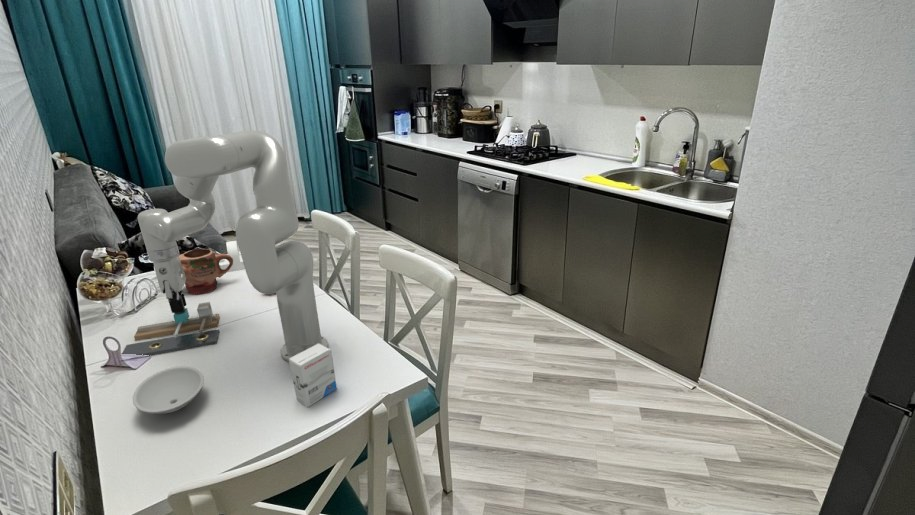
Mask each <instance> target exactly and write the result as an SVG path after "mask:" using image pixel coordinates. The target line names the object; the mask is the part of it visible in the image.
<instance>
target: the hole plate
mask: <svg viewBox="0 0 915 515" xmlns="http://www.w3.org/2000/svg"><path fill="white" fill-rule="evenodd" d="M202 333H203V335H202V336H201V335H200V332H195V333H188V334H182V335H177V338H178V340H175V337H174V336H171V337H163V338H159V339H154V340H147V341H142V342H135V343H131V344H126V346H125V347H124V348H123V351H122V352H121V354H136V355H142V354H143V355H149V356H148V357H152V356H157V354H158V355H163V354H169V353H174V352H179V351H180V352H181V351H185V350H191V349H196V348H202V347H207V346H213V345H217V344H218V340H219V336H220V333H221V332H220V329H219V328H218V329H211V330H207V331H202ZM162 353H163V354H162ZM150 355H151V356H150Z"/></svg>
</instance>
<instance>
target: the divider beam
mask: <svg viewBox="0 0 915 515" xmlns="http://www.w3.org/2000/svg"><path fill="white" fill-rule="evenodd" d="M196 311H197V314H198V315H197V317H191V318H188V321H187V322H185V323H182V324H181V327H180V329H179V332H178V334H184V333H190V332H196V331H199V332H200V335H201V336H202V335H203V333H202V332H203V330H207V329H216V328H218V327H219V324H220V319H221V316H220V313H215V314H214V313H213V308H212V305H211V302H210V301H207V302H200V303H198V305H197V309H196ZM177 326H178V324H175V320H172V321H166V322H165V321H164V322H160V323H153V324H148V325H146V324H145V325H141V326H138V327H137V328H136V329H137V330H136V332H135V334H134V336H133V338H134V341H135V342H138V341H143V340H149V339H150V340H151V339H154V338H160V337H167V336H174V333H175V331H176V329H177ZM199 332H198V333H199ZM178 334H177V335H178Z"/></svg>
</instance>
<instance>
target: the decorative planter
mask: <svg viewBox="0 0 915 515" xmlns="http://www.w3.org/2000/svg"><path fill="white" fill-rule="evenodd" d="M179 258H180V261H181V264H182V267H183V270H184V273H185V276H186V281H185V284H184V286H185V290H186V292H187V293H188V294H191V295H203V294H208V293H211V292H213V291H215V290H216V288H217V287H218V281H217V278H222V277H223V276H224V275H226V274H228V273H229V272H228V271H229V269H230V268H231V266H232V265H233V259H232V257H231V256H230V255H228V253H218V254H216V253H215V252H214V251H213V250H212V249H209V248H194V249H192V250H188V251H185V252H184V253H180V255H179ZM222 259H227V260H228V261H229V263H230V264H229V266H228V267H227V268H226V269H224V270H223V269H221V268H220V265H219V262H220V260H222Z"/></svg>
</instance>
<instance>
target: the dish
mask: <svg viewBox="0 0 915 515" xmlns="http://www.w3.org/2000/svg"><path fill="white" fill-rule="evenodd" d="M204 383H205V376H204V374H203V372H202V371H200V370H199V369H198V368H196V367H193V366H186V365H183V366H182V365H181V366H180V365H179V366H174V367H170V368H165V369H163V370H159V371H157V372H156V373H154V374H152V375H150V376H149V377H147V378H146V379H144V380H142V382H141V383H140V384H138V386H137V387H136V389H135V391H133V395H132V404H133V406H134V407H135V408H136V409H137V410H138V411H140V412H143V413H149V414H159V415H160V414H169V413H173V412H176V411H178V410H181V409H182V408H184V407H185V406H187V405H188V404H190V402H192V401H193V400H194V398H195V397H196V396H197V395H198V394H199V392H200V391H201V390H202V388H203V386H204Z"/></svg>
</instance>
